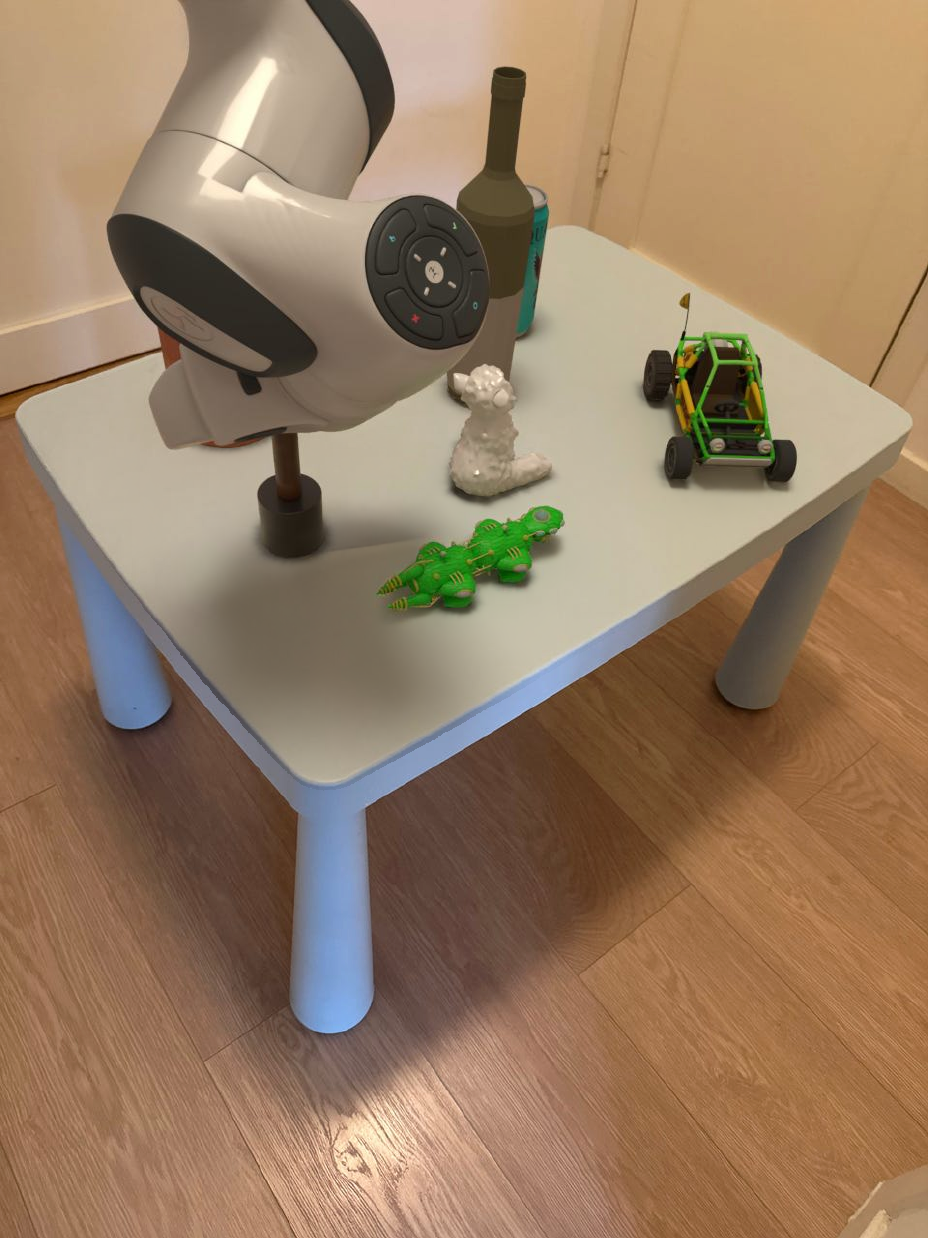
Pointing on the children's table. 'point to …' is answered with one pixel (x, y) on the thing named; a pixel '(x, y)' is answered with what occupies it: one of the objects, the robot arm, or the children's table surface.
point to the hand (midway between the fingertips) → (277, 401)
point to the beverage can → (534, 258)
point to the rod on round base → (290, 503)
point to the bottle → (499, 228)
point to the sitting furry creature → (490, 438)
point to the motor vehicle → (717, 406)
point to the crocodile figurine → (474, 559)
